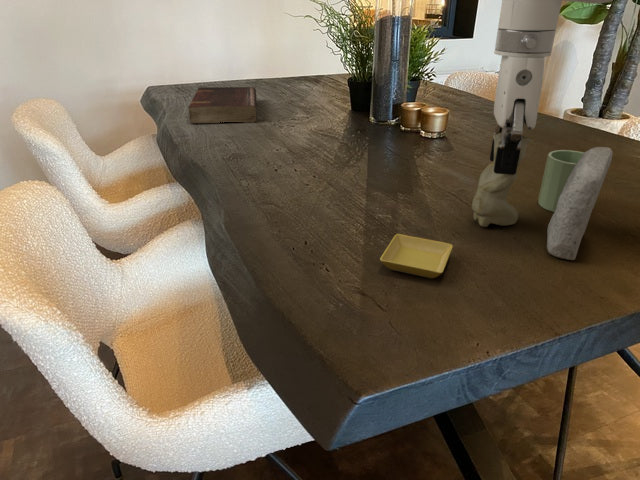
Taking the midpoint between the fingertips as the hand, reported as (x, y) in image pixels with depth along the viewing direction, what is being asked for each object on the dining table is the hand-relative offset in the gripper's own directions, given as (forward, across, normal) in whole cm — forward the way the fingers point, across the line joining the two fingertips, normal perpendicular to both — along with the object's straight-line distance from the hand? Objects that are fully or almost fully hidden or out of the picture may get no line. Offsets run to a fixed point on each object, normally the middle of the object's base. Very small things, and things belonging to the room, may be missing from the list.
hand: (502, 166), depth 77 cm
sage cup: (+10, +10, -13) cm, 19 cm away
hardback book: (+10, +67, +73) cm, 100 cm away
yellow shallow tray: (+10, -16, +12) cm, 22 cm away
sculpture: (+10, 0, 0) cm, 10 cm away
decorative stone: (+10, -6, -10) cm, 15 cm away
